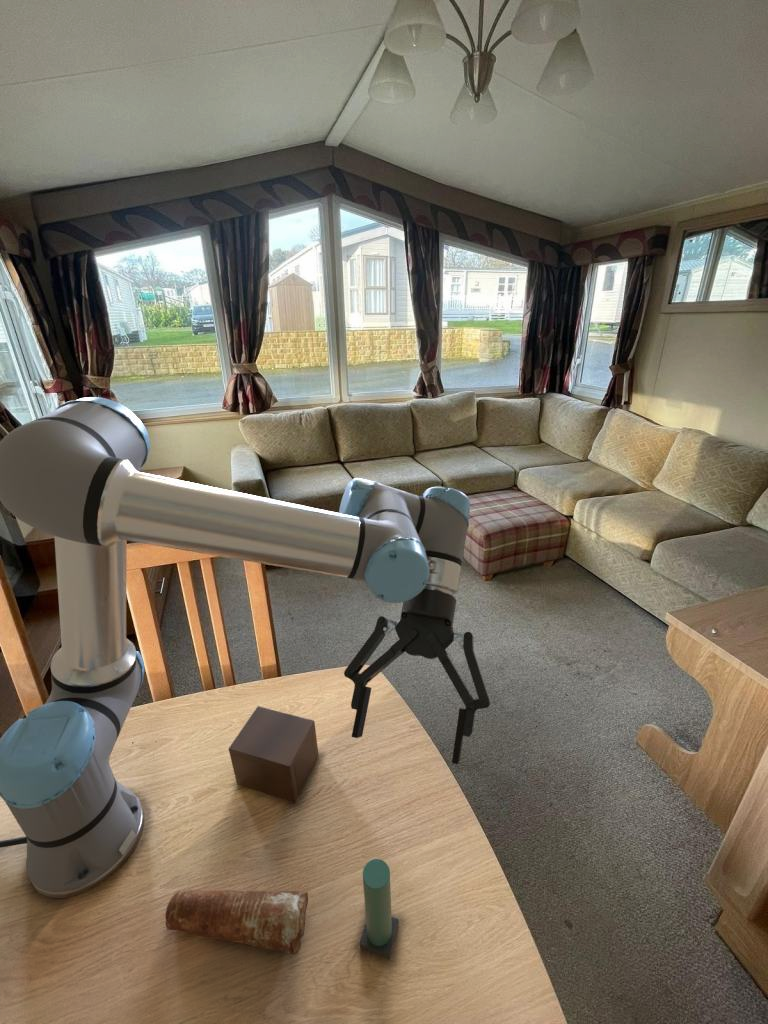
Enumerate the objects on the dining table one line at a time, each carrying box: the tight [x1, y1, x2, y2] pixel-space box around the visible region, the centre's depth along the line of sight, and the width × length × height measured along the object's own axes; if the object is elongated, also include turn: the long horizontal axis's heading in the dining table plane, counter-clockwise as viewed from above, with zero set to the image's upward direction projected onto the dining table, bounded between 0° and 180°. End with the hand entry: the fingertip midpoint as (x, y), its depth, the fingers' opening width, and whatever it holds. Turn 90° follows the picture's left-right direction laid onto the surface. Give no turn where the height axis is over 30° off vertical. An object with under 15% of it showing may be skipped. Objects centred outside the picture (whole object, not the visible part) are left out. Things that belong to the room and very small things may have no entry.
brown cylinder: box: [165, 889, 309, 955], centre depth 63 cm, size 6×19×6 cm, turn 81°
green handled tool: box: [359, 858, 400, 960], centre depth 59 cm, size 4×4×14 cm
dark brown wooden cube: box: [228, 705, 320, 804], centre depth 82 cm, size 11×9×9 cm
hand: (404, 749), depth 64 cm, fingers open, 13 cm apart
